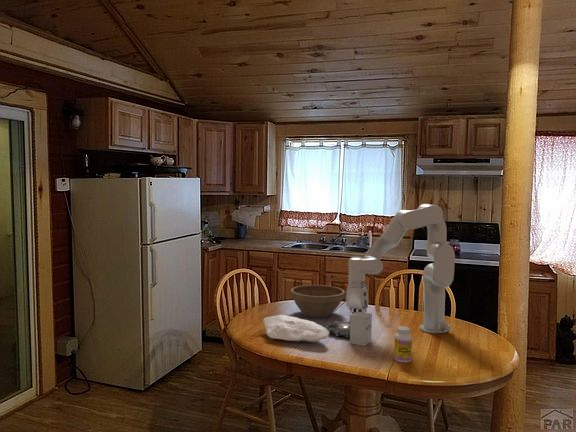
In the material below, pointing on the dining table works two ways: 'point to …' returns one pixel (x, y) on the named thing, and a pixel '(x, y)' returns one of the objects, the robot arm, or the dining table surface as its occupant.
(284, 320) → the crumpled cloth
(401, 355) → the supplement bottle
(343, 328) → the sprocket disc
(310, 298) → the flower pot
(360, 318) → the supplement box
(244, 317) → the dining table surface
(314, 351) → the dining table surface
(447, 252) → the robot arm
